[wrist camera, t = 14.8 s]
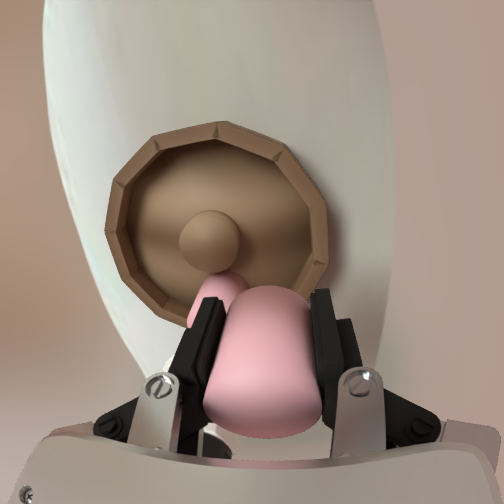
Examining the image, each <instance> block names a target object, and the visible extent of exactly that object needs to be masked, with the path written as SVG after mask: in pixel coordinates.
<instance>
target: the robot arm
mask: <svg viewBox="0 0 504 504" xmlns="http://www.w3.org/2000/svg"><path fill="white" fill-rule="evenodd" d="M310 302H311V316H312V325H313V335H314V345H315V356H316V368H317V380H318V386H319V388H320V391H321V402H322V414H321V415H322V421H323V422H324V424H325V425H326V426H328V427H329V428H331V429H332V430H333V431H332V440H331V449H330V457H329V458H326V459H314V460H296V461H295V460H294V461H250V460H231V459H218V458H208V457H202V448H203V434H204V429H203V428H204V427H205V426H207V425H208V423H214V422H213V421H212V420H210V418H209V417H208V416H207V415H206V413H205V411H204V409H203V399H204V395H205V392H206V388H207V384H208V381H209V377H210V373H211V370H212V366H213V362H214V358H215V355H216V351H217V348H218V344H219V340H220V337H221V333H222V329H223V326H224V322H225V318H226V315H227V314H226V310H225V306H224V302H223V300H219V298H218V297H204V298H203V300H202V302H201V305H200V307H199V309H198V312H197V314H196V317H195V319H194V321H193V324H192V326H191V328H187V329H186V330H185V332H184V334H183V336H182V339H181V341H180V343H179V346H178V348H177V351H176V353H175V355H174V358H173V360H172V363H171V365H170V367H169V370H168V372H161V373H156V374H154V375H152V376H150V377H149V378H147V379H146V381H145V382H144V383H143V385H142V388H141V391H140V395H139V397H137V398H135V399H133V400H132V401H130V402H128V403H126V404H124V405H122V406H120V407H118V408H116V409H114V410H112V411H110V412H108V413H106V414H104V415H102V416H101V417H99V418H98V419H97V421H96V422H95V423H93V422H92V421H91V422H87V423H82V424H77V425H73V426H68V427H63V428H58V429H55V430H53V431H52V432H51V433H50V434H49V435H48V436H46V437H44V438H43V439H42V440H41V441H40V442H39V443H38V445H37V446H36V447H35V449H34V450H33V452H32V453H31V455H30V456H29V458H28V460H27V462H26V464H25V466H24V468H23V470H22V472H21V474H20V476H19V478H18V480H17V482H16V485H15V487H14V490H13V492H12V494H11V497H10V499H9V502H8V504H503V502H502V498H501V494H500V489H499V485H498V482H497V480H496V476H495V471H496V466H497V461H498V456H499V450H500V444H501V437H500V434H499V432H498V431H497V430H496V429H495V428H493V427H490V426H485V425H478V424H471V423H465V422H460V421H454V420H449V419H447V421H446V422H444V421H440V420H439V418H438V417H437V416H436V415H435V414H433V413H432V412H430V411H428V410H426V409H424V408H422V407H420V406H418V405H416V404H414V403H412V402H410V401H408V400H406V399H404V398H402V397H400V396H398V395H396V394H394V393H392V392H390V391H388V390H386V389H384V388H383V381H382V378H381V376H380V375H379V374H378V372H376V371H375V370H373V369H371V368H368V367H363V365H362V360H361V356H360V352H359V348H358V344H357V340H356V336H355V333H354V329H353V325H352V322H351V319H350V318H348V319H339V320H336V319H335V314H334V309H333V305H332V300H331V296H330V291H329V288H325V289H315V293H310Z"/></svg>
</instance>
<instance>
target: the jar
mask: <svg viewBox="0 0 504 504" xmlns="http://www.w3.org/2000/svg"><path fill="white" fill-rule="evenodd" d="M174 355H175V354H174ZM174 355H173V356H172V357H170V358H169V359H168V360H167V362H166V364H165V366H164V369H163V371H162V372H168V370H169V367H170V365H171V363H172V360H173V358H174ZM203 429H204V434H203V448H202V457H208V458H218V459H231V457H232V455H236V454H237V451H238V444H239V437H240V435H238V434H235V433H232V432H230V431H227V430H225V429H223V428H221V427H220V426H218V425H217V424H215V423H208V425H207V426H205V427H204V428H203ZM231 460H232V459H231Z"/></svg>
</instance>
